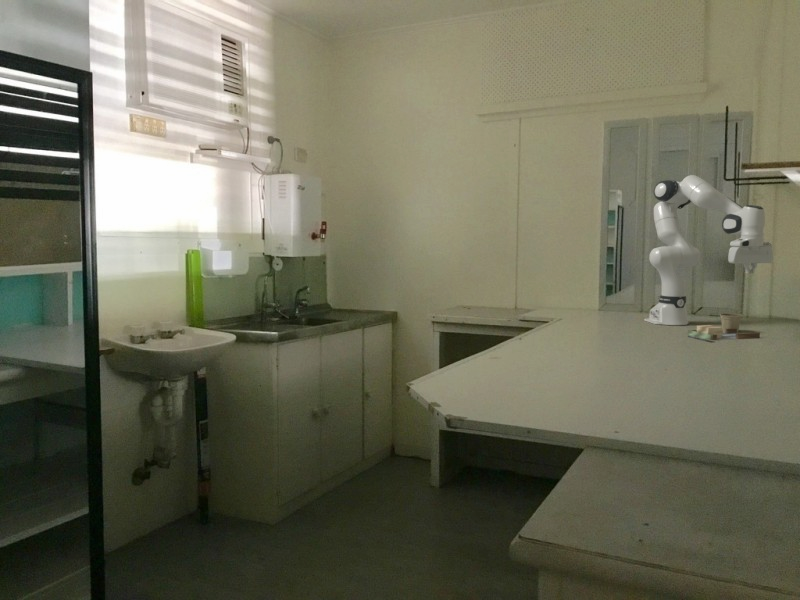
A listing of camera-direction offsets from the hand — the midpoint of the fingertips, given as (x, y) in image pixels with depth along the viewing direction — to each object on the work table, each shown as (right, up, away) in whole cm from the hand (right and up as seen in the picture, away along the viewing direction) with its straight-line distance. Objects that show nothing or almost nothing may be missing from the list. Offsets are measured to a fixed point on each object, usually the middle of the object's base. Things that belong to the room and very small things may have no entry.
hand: (749, 273), depth 275 cm
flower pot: (-6, -27, +5) cm, 28 cm away
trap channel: (-16, -28, -8) cm, 34 cm away
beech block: (-23, -28, -10) cm, 37 cm away
